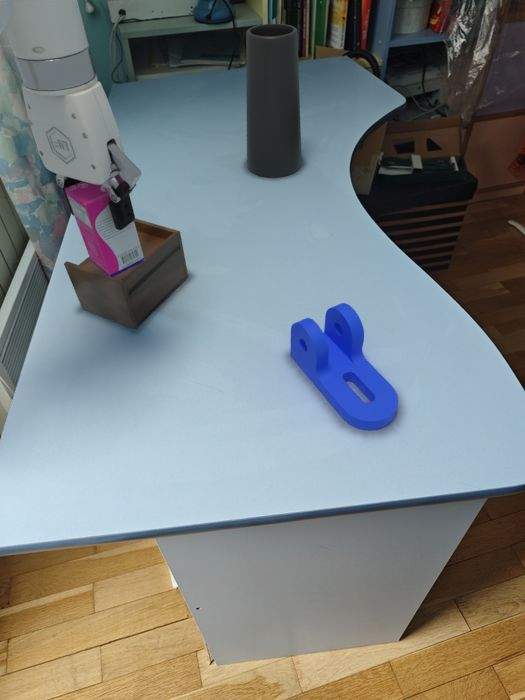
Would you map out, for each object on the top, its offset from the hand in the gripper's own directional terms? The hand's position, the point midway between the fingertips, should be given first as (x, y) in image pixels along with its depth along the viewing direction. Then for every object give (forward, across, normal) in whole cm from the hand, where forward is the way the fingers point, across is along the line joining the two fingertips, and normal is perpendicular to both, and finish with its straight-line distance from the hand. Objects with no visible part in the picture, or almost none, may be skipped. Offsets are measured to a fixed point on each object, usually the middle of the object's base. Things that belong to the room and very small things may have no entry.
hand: (103, 216), depth 64 cm
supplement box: (+7, 0, 0) cm, 7 cm away
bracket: (+23, +34, +7) cm, 41 cm away
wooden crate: (+23, -8, +9) cm, 26 cm away
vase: (+23, -9, +64) cm, 69 cm away
